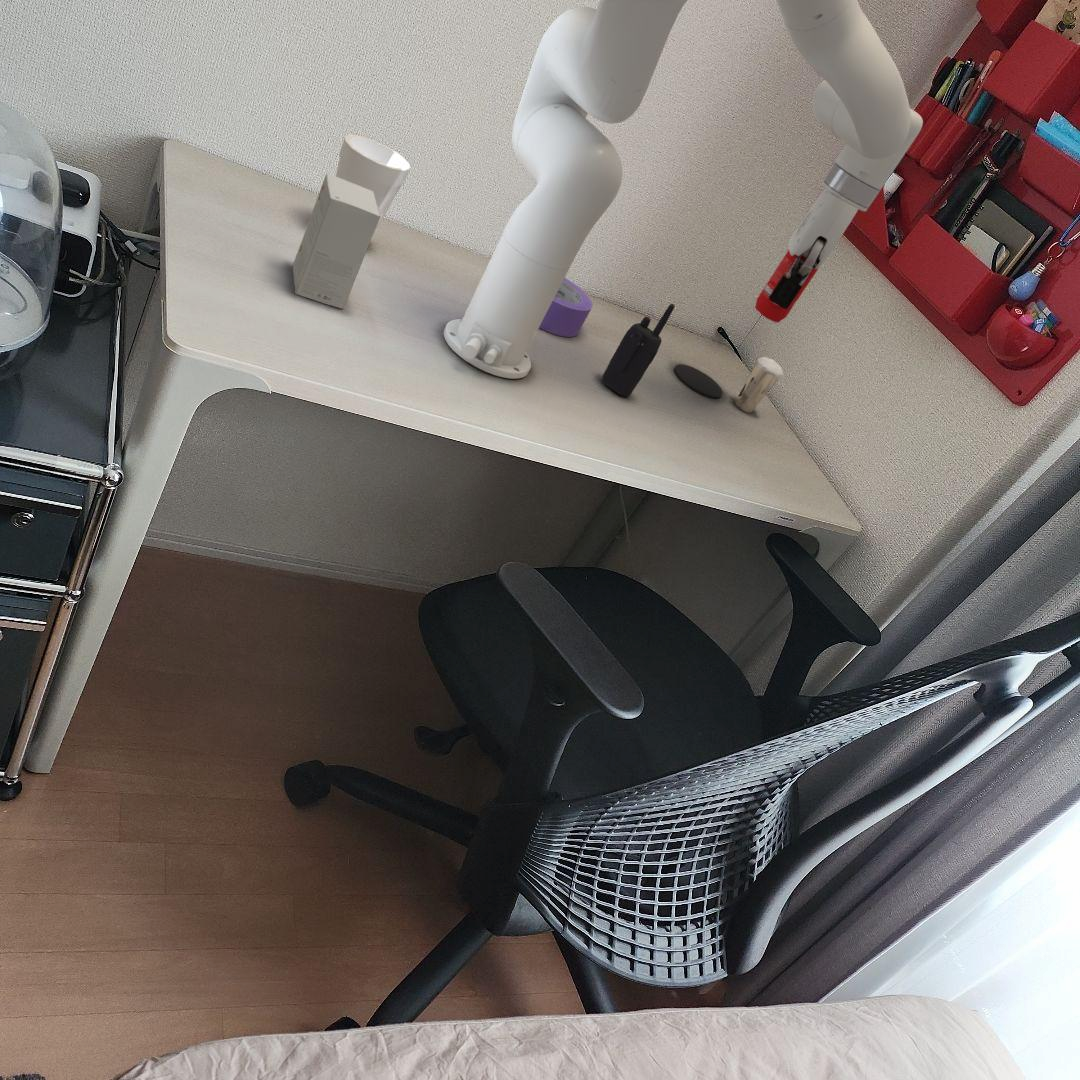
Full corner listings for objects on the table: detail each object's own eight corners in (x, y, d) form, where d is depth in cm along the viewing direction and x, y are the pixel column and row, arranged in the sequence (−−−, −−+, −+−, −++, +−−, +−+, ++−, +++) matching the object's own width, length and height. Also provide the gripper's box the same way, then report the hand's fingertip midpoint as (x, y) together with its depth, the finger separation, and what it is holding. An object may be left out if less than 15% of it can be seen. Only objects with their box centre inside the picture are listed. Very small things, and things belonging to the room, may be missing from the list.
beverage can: (748, 300, 154) (793, 230, 148) (776, 313, 156) (821, 245, 150) (757, 315, 150) (804, 243, 144) (785, 328, 152) (833, 258, 145)
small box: (343, 310, 125) (381, 216, 119) (294, 294, 123) (329, 197, 116) (339, 281, 131) (374, 190, 125) (291, 265, 129) (325, 171, 122)
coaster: (720, 405, 162) (721, 403, 161) (671, 378, 161) (673, 376, 161) (722, 385, 169) (723, 384, 169) (676, 359, 169) (677, 357, 168)
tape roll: (567, 345, 151) (583, 316, 149) (501, 305, 151) (515, 276, 149) (585, 325, 161) (600, 298, 159) (523, 288, 161) (536, 260, 159)
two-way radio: (634, 398, 147) (686, 310, 139) (618, 401, 144) (672, 311, 136) (606, 376, 149) (657, 288, 141) (591, 378, 145) (642, 289, 138)
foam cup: (388, 252, 147) (422, 170, 140) (350, 257, 139) (384, 170, 132) (340, 218, 149) (371, 135, 142) (300, 221, 141) (331, 133, 134)
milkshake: (759, 421, 164) (794, 371, 159) (731, 406, 164) (765, 355, 158) (758, 410, 168) (792, 361, 163) (730, 395, 167) (764, 345, 162)
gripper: (824, 165, 149) (756, 272, 158) (830, 185, 134) (755, 301, 144) (867, 191, 150) (797, 296, 159) (877, 213, 135) (800, 327, 144)
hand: (777, 297), depth 151 cm, fingers closed on beverage can, 5 cm apart
